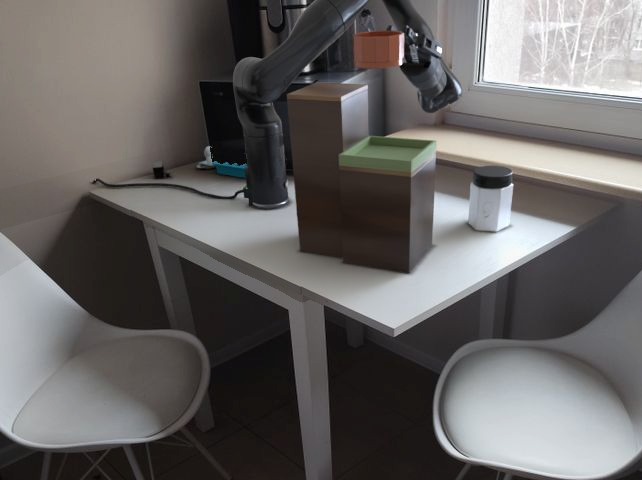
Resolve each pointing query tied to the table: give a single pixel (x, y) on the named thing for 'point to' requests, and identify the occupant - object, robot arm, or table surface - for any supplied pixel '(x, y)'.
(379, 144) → the tray
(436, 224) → the table surface
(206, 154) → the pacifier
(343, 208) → the stand
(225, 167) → the ice cube tray
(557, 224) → the table surface
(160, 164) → the wireless earbuds
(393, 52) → the saucepan
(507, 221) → the jar
